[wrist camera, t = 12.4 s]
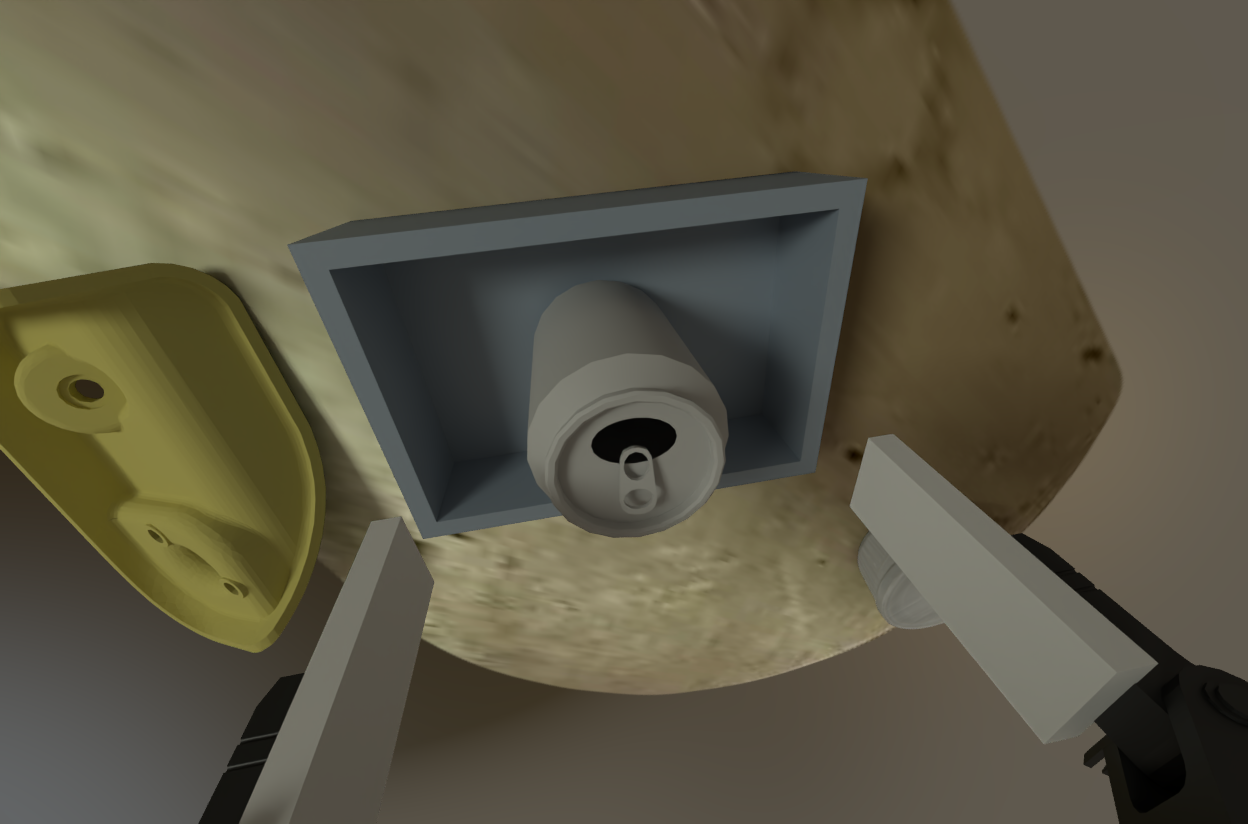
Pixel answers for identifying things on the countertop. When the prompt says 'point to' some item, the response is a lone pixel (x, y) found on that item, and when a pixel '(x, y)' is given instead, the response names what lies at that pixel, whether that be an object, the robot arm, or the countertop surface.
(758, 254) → the bin
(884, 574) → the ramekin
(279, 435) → the plastic component
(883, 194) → the countertop surface
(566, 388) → the can
